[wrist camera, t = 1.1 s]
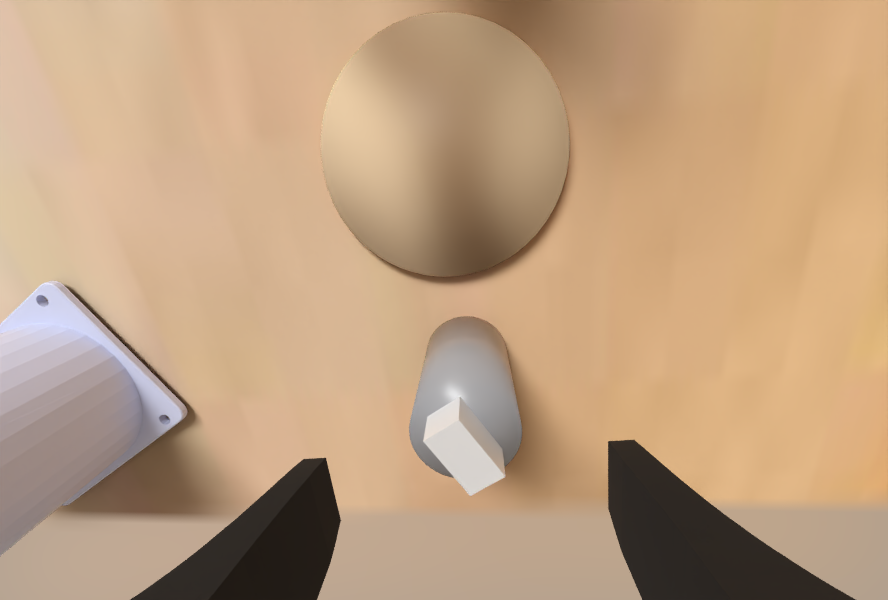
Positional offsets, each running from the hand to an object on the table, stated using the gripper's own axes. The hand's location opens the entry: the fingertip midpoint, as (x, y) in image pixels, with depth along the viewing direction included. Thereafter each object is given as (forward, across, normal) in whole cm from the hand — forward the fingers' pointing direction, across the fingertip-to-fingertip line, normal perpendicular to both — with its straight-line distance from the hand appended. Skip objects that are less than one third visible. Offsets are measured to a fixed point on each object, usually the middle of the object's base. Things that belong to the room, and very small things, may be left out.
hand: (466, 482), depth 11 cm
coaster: (+8, 0, -8) cm, 11 cm away
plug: (+8, 0, 0) cm, 8 cm away
